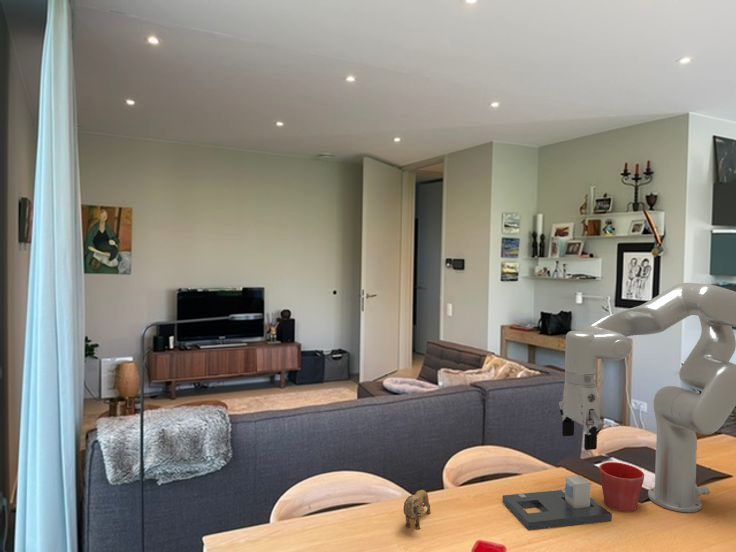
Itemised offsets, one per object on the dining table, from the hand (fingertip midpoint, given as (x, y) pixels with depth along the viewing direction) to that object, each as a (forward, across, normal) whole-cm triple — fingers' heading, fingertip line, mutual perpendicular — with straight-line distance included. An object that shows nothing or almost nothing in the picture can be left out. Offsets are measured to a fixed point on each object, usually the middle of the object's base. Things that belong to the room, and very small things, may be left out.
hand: (578, 442), depth 133 cm
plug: (+18, 0, 0) cm, 18 cm away
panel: (+18, 0, +6) cm, 19 cm away
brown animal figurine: (+18, +1, +44) cm, 47 cm away
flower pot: (+18, 0, -13) cm, 23 cm away
